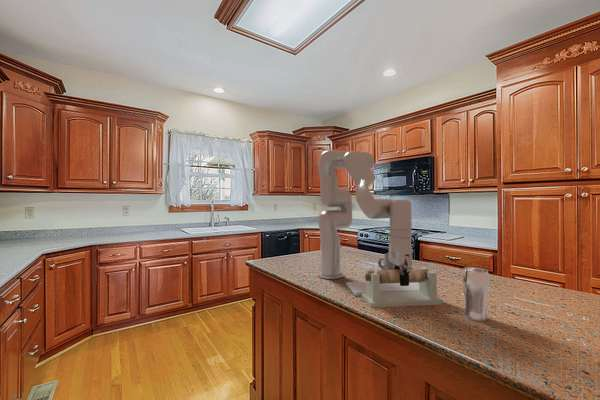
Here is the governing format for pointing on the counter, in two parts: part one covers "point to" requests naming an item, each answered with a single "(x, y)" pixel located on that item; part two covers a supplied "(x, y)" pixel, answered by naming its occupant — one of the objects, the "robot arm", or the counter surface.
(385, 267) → the coffee mug
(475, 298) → the beer glass
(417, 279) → the rolling pin
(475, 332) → the counter surface
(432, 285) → the pin stand
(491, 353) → the counter surface
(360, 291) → the pastry board
